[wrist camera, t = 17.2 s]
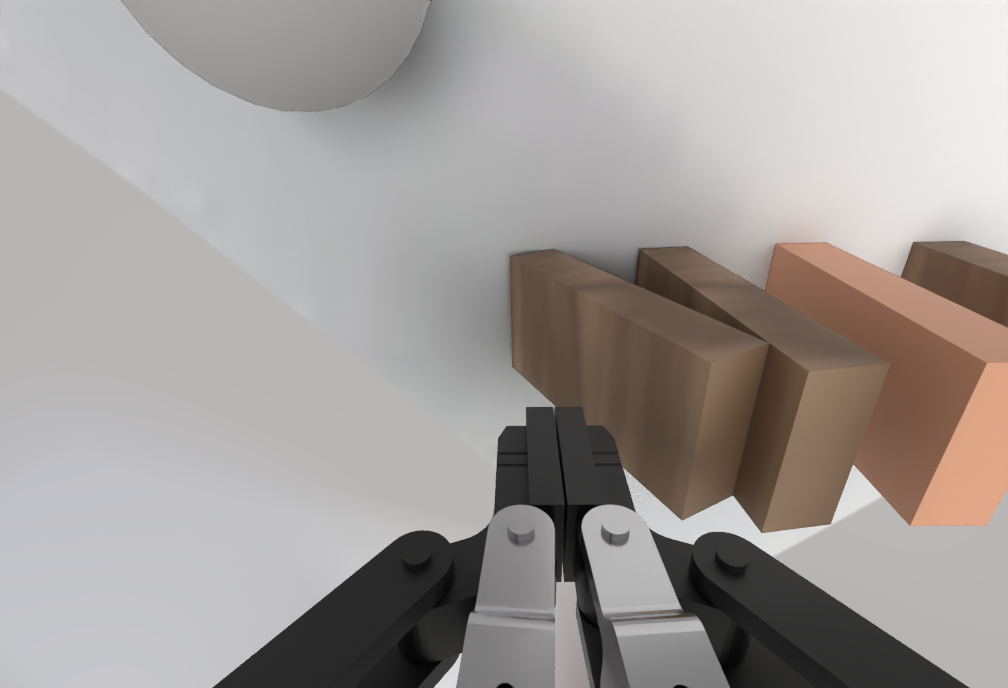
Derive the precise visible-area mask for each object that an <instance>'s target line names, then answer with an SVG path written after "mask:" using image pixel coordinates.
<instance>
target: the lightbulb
mask: <svg viewBox="0 0 1008 688" xmlns="http://www.w3.org/2000/svg"><path fill="white" fill-rule="evenodd" d="M121 1H122V3H123V4H124V5H125V7H126V8H127V9H128V10H129V11H130V13H131V14H132V15H133V16H134V18H135V19H136V20H137V21H138V23H139V24H140V25H141V26H142V27H143V29H144V30H145V31H146V32H147V33H148V34H149V35H150V36H151V37H152V38H153V39H154V40H155V41H156V42H157V43H158V44H159V45H161V46H162V47H163V48H164V49H165V50H166V51H167V52H168V53H169V54H170V55H171V56H172V57H174V58H175V59H176V60H177V61H178V62H180V63H181V64H182V65H183V66H184V67H186V68H187V69H189V70H190V71H192V72H193V73H195V74H196V75H198V76H199V77H201V78H202V79H204V80H205V81H207V82H208V83H209V84H211V85H212V86H214V87H216V88H219V89H221V90H223V91H225V92H227V93H230V94H232V95H234V96H236V97H239V98H241V99H243V100H245V101H248V102H250V103H253V104H255V105H259V106H264V107H268V108H272V109H276V110H281V111H302V112H313V111H322V110H327V109H332V108H337V107H342V106H346V105H348V104H350V103H352V102H354V101H356V100H359V99H361V98H363V97H365V96H367V95H369V94H370V93H372V92H373V91H374V90H375V89H377V88H378V87H379V86H381V85H382V84H383V83H384V82H386V81H387V80H388V79H389V78H390V77H391V76H392V75H393V74H394V72H395V71H396V70H397V69H398V68H399V66H400V65H401V64H402V63H403V61H404V60H405V59H406V58H407V57H408V55H409V53H410V51H411V49H412V47H413V45H414V43H415V41H416V39H417V38H418V36H419V34H420V32H421V30H422V27H423V24H424V20H425V17H426V14H427V11H428V7H429V4H430V1H431V0H121Z"/></svg>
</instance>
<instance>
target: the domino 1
mask: <svg viewBox="0 0 1008 688" xmlns="http://www.w3.org/2000/svg"><path fill="white" fill-rule="evenodd" d="M510 274H511V323H512V367H513V368H514V369H515V370H516V371H517V372H519V373H520V374H521V375H522V376H523V377H524V378H525V379H526V380H527V381H528V382H530V383H531V384H532V385H533V386H534V387H535V388H536V389H537V390H538V391H540V392H541V393H542V394H543V395H544V396H545V397H546V398H547V399H548V400H549V401H551V402H552V403H553V404H554V405H555V406H556V407H582V408H583V412H584V417H585V422H586V426H590V425H603V426H604V427H605V429H606V430H607V431H608V432H609V433H610V434H611V435H612V436H613V437H614V439H615V442H616V446H617V449H618V455H619V456H620V460H621V465H622V467H623V468H624V469H626V470H627V471H628V472H629V473H630V474H631V475H632V476H633V477H634V478H636V479H637V480H638V481H639V482H640V483H641V484H642V485H643V486H644V487H645V488H647V489H648V490H649V491H650V492H651V493H652V494H653V495H654V496H655V497H656V498H658V499H659V500H660V501H661V502H662V503H663V504H664V505H665V506H666V507H668V508H669V509H670V510H671V511H672V512H673V513H674V514H675V515H676V516H677V517H679V518H680V519H681V520H684V519H686V518H688V517H690V516H692V515H694V514H696V513H698V512H700V511H702V510H704V509H706V508H708V507H710V506H712V505H714V504H716V503H718V502H720V501H722V500H724V499H727V498H729V497H731V496H733V492H734V488H735V484H736V480H737V475H738V471H739V467H740V463H741V459H742V455H743V451H744V447H745V443H746V439H747V434H748V430H749V426H750V422H751V418H752V414H753V410H754V406H755V402H756V398H757V393H758V389H759V385H760V381H761V377H762V373H763V369H764V365H765V361H766V356H767V352H768V348H769V344H770V343H768V342H765V341H763V340H761V339H758V338H756V337H754V336H752V335H749V334H747V333H745V332H742V331H740V330H738V329H735V328H733V327H731V326H729V325H726V324H724V323H722V322H719V321H717V320H715V319H713V318H710V317H708V316H706V315H703V314H701V313H699V312H696V311H694V310H692V309H690V308H687V307H685V306H683V305H680V304H678V303H676V302H674V301H671V300H669V299H667V298H664V297H662V296H660V295H657V294H655V293H653V292H651V291H648V290H646V289H644V288H641V287H639V286H637V285H635V284H632V283H630V282H628V281H625V280H623V279H621V278H619V277H616V276H614V275H612V274H609V273H607V272H605V271H602V270H600V269H598V268H596V267H593V266H591V265H589V264H586V263H584V262H582V261H580V260H577V259H575V258H573V257H570V256H568V255H566V254H563V253H561V252H559V251H557V250H554V249H550V250H545V251H539V252H533V253H527V254H522V255H516V256H510Z"/></svg>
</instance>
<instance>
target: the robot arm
mask: <svg viewBox="0 0 1008 688" xmlns="http://www.w3.org/2000/svg"><path fill="white" fill-rule="evenodd" d="M495 490H496V491H495V509H494V515H493V517H492V519H491V521H490V523H489V524H488V525H487V527H486V528H484V529H483V530H482V531H481V532H479V533H478V534H476V535H474V536H472V537H470V538H467V539H464V540H460V541H457V542H453V543H449V542H448V541H447V539H445V538H444V537H443V536H442V535H440V534H438V533H435V532H432V531H423V530H422V531H414V532H410V533H407V534H405V535H403V536H401V537H399V538H398V539H396V540H395V541H394V542H392V543H391V544H390V545H389V546H387V547H386V548H385V549H384V550H382V551H381V552H380V553H379V554H378V555H376V556H375V557H374V558H373V559H371V560H370V561H369V562H368V563H367V564H365V565H364V566H363V567H361V568H360V569H359V570H358V571H356V572H355V573H354V574H353V575H352V576H350V577H349V578H348V579H347V580H345V581H344V582H343V583H342V584H340V585H339V586H338V587H337V588H335V589H334V590H333V591H332V592H331V593H329V594H328V595H327V596H325V597H324V598H323V599H322V600H321V601H319V602H318V603H317V604H316V605H314V606H313V607H312V608H311V609H309V610H308V611H307V612H306V613H304V614H303V615H302V616H301V617H300V618H298V619H297V620H296V621H295V622H293V623H292V624H291V625H290V626H288V627H287V628H286V629H285V630H283V631H282V632H281V633H280V634H279V635H277V636H276V637H275V638H273V639H272V640H271V641H270V642H269V643H267V644H266V645H265V646H264V647H262V648H261V649H260V650H259V651H257V652H256V653H255V654H254V655H252V656H251V657H250V658H249V659H247V660H246V661H245V662H244V663H243V664H241V665H240V666H239V667H238V668H236V669H235V670H234V671H233V672H231V673H230V674H229V675H228V676H226V677H225V678H224V679H223V680H222V681H220V682H219V683H218V684H217V685H215V686H214V687H213V688H434V687H435V685H436V684H437V683H438V682H439V681H440V680H441V678H442V677H443V676H444V675H445V674H446V673H447V672H448V670H449V669H450V668H451V667H452V666H453V664H454V663H455V662H456V660H457V658H458V657H459V654H460V653H462V657H461V663H460V669H459V675H458V680H457V686H456V688H555V617H554V609H555V604H556V582H561V576H562V564H563V574H564V582H575V586H576V593H577V604H576V618H577V623H578V628H579V634H580V639H581V643H582V649H583V654H584V659H585V664H586V669H587V674H588V680H589V685H590V688H969V687H967V686H966V685H964V684H963V683H961V682H960V681H958V680H957V679H955V678H954V677H952V676H951V675H949V674H948V673H946V672H945V671H943V670H941V669H940V668H939V667H937V666H936V665H934V664H932V663H931V662H930V661H928V660H927V659H925V658H924V657H922V656H921V655H919V654H918V653H916V652H915V651H913V650H912V649H910V648H909V647H907V646H905V645H904V644H903V643H901V642H900V641H898V640H896V639H895V638H894V637H892V636H890V635H889V634H888V633H886V632H885V631H883V630H882V629H880V628H878V627H877V626H876V625H874V624H872V623H871V622H870V621H868V620H867V619H865V618H863V617H862V616H860V615H859V614H858V613H856V612H855V611H853V610H851V609H850V608H848V607H847V606H845V605H844V604H842V603H841V602H839V601H838V600H836V599H835V598H833V597H831V596H830V595H829V594H827V593H826V592H824V591H823V590H821V589H820V588H818V587H817V586H815V585H814V584H812V583H811V582H809V581H808V580H806V579H805V578H803V577H802V576H800V575H799V574H797V573H796V572H794V571H793V570H791V569H790V568H788V567H787V566H785V565H784V564H782V563H781V562H779V561H778V560H776V559H775V558H773V557H772V556H770V555H769V554H767V553H766V552H764V551H763V550H761V549H760V548H758V547H757V546H755V545H754V544H752V543H751V542H749V541H747V540H746V539H744V538H742V537H739V536H737V535H734V534H731V533H726V532H711V533H707V534H704V535H702V536H701V537H699V538H698V539H697V540H696V542H695V543H694V545H692V544H688V543H684V542H680V541H677V540H673V539H670V538H666V537H664V536H662V535H659V534H657V533H656V532H654V531H652V530H651V529H650V528H649V527H648V525H647V524H646V522H645V521H644V519H643V518H642V517H641V516H640V515H638V514H637V513H636V511H635V508H634V505H633V501H632V498H631V495H630V491H629V488H628V484H627V481H626V477H625V474H624V470H623V467H622V465H621V460H620V456H619V455H618V449H617V446H616V442H615V439H614V437H613V436H612V435H611V434H610V433H609V432H608V431H607V430H606V429H605V427H604V426H603V425H590V426H586V422H585V417H584V412H583V408H582V407H555V408H554V412H553V407H526V426H506V428H505V429H504V431H503V432H502V434H501V435H500V436H499V438H498V451H497V471H496V489H495Z"/></svg>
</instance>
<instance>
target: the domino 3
mask: <svg viewBox="0 0 1008 688" xmlns="http://www.w3.org/2000/svg"><path fill="white" fill-rule="evenodd" d="M765 292H767V293H769V294H771V295H772V296H774V297H776V298H778V299H779V300H781V301H783V302H784V303H786V304H788V305H790V306H791V307H793V308H795V309H797V310H798V311H800V312H802V313H804V314H805V315H807V316H809V317H810V318H812V319H814V320H816V321H817V322H819V323H821V324H823V325H824V326H826V327H828V328H829V329H831V330H833V331H835V332H836V333H838V334H840V335H842V336H843V337H845V338H847V339H848V340H850V341H852V342H854V343H855V344H857V345H859V346H861V347H862V348H864V349H866V350H868V351H869V352H871V353H873V354H874V355H876V356H878V357H880V358H881V359H883V360H885V361H887V362H888V363H890V367H889V370H888V372H887V375H886V378H885V380H884V383H883V386H882V388H881V391H880V394H879V396H878V399H877V402H876V404H875V407H874V409H873V412H872V415H871V417H870V420H869V423H868V425H867V428H866V431H865V433H864V436H863V439H862V441H861V444H860V447H859V449H858V452H857V455H856V457H855V460H854V463H853V464H854V465H855V467H856V468H857V469H858V470H859V471H860V472H861V473H862V474H863V475H864V476H865V477H866V479H867V480H868V481H869V482H870V483H871V484H872V485H873V486H874V487H875V488H876V489H877V490H878V492H879V493H880V494H881V495H882V496H883V497H884V498H885V499H886V500H887V501H888V502H889V504H890V505H891V506H892V507H893V508H894V509H895V510H896V511H897V512H898V513H899V514H900V516H901V517H902V518H903V519H904V520H905V521H906V522H907V523H908V524H909V525H910V526H987V524H988V523H989V521H990V519H991V517H992V516H993V514H994V512H995V510H996V509H997V507H998V505H999V503H1000V502H1001V499H1002V498H1003V496H1004V495H1005V493H1006V491H1007V489H1008V328H1007V327H1005V326H1003V325H1001V324H998V323H996V322H994V321H992V320H990V319H988V318H986V317H984V316H981V315H979V314H977V313H975V312H973V311H971V310H969V309H967V308H964V307H962V306H960V305H958V304H956V303H954V302H952V301H949V300H947V299H945V298H943V297H941V296H939V295H937V294H935V293H932V292H930V291H928V290H926V289H924V288H922V287H920V286H918V285H915V284H913V283H911V282H909V281H907V280H905V279H903V278H900V277H898V276H896V275H894V274H892V273H890V272H888V271H886V270H883V269H881V268H879V267H877V266H875V265H873V264H871V263H869V262H866V261H864V260H862V259H860V258H858V257H856V256H854V255H852V254H849V253H847V252H845V251H843V250H841V249H839V248H837V247H834V246H832V245H830V244H828V243H781V244H776V245H775V249H774V254H773V258H772V263H771V267H770V272H769V276H768V280H767V285H766V289H765Z"/></svg>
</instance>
